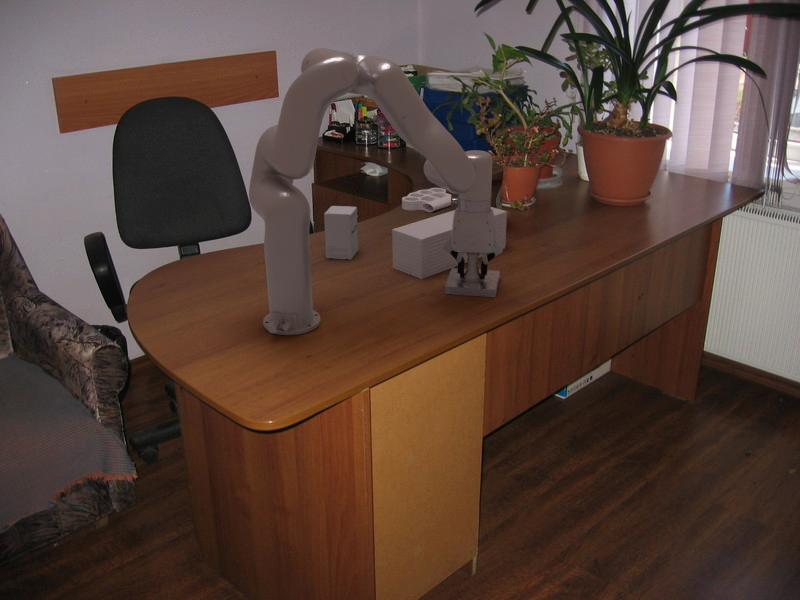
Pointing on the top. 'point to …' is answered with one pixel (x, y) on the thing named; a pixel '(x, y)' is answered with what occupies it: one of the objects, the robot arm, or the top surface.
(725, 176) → the top surface
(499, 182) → the wooden container
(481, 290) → the socket plate
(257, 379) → the top surface
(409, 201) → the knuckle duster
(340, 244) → the supplement box
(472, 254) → the rook chess piece
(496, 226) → the long grey block
